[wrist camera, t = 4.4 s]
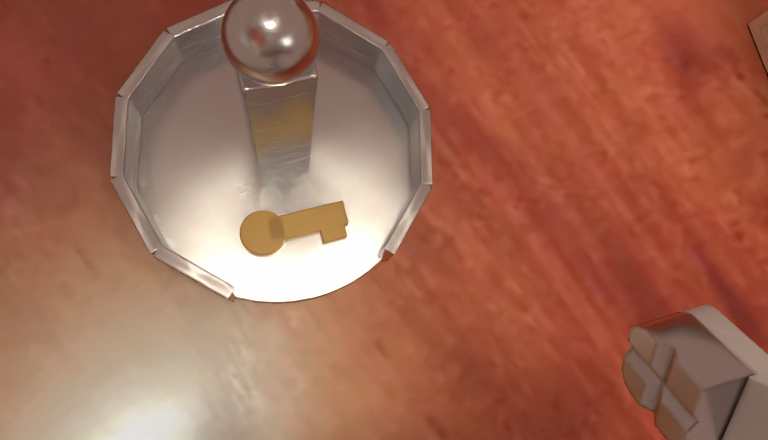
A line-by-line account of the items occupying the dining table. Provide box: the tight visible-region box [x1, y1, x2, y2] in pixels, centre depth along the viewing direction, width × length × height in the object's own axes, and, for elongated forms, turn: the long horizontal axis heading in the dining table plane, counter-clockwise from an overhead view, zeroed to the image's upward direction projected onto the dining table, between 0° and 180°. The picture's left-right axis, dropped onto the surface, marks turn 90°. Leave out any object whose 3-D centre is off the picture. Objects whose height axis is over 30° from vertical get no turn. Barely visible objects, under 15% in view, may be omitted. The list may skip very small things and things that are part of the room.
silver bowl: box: [109, 0, 433, 303], centre depth 19 cm, size 12×12×12 cm
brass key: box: [240, 201, 349, 256], centre depth 24 cm, size 4×2×1 cm, turn 106°
